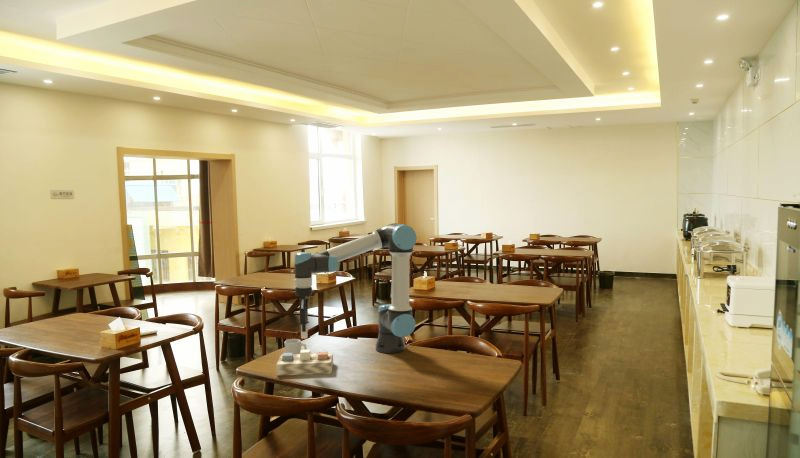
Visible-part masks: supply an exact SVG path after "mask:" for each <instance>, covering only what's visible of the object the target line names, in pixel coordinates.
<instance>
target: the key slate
mask: <svg viewBox="0 0 800 458" xmlns="http://www.w3.org/2000/svg"><path fill="white" fill-rule="evenodd" d="M281 355H282V361H293V353H286V352H283V353H282V354H281Z"/></svg>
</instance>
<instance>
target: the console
mask: <svg viewBox="0 0 800 458" xmlns="http://www.w3.org/2000/svg"><path fill="white" fill-rule="evenodd" d="M282 355H283V354H280V356H279V358H278V360H277V362H276V365H275V366H276V367H275V369H276V371H275V372H276V376H277V377H278V376H294V375H295V376H297V375H299V376H300V375H303V376H305V375H325V374H326V375H328V374H332V373H333V366H334V353H333V352H328V359H327V360H318V353H311V360H300V354H293V361H282Z"/></svg>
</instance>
